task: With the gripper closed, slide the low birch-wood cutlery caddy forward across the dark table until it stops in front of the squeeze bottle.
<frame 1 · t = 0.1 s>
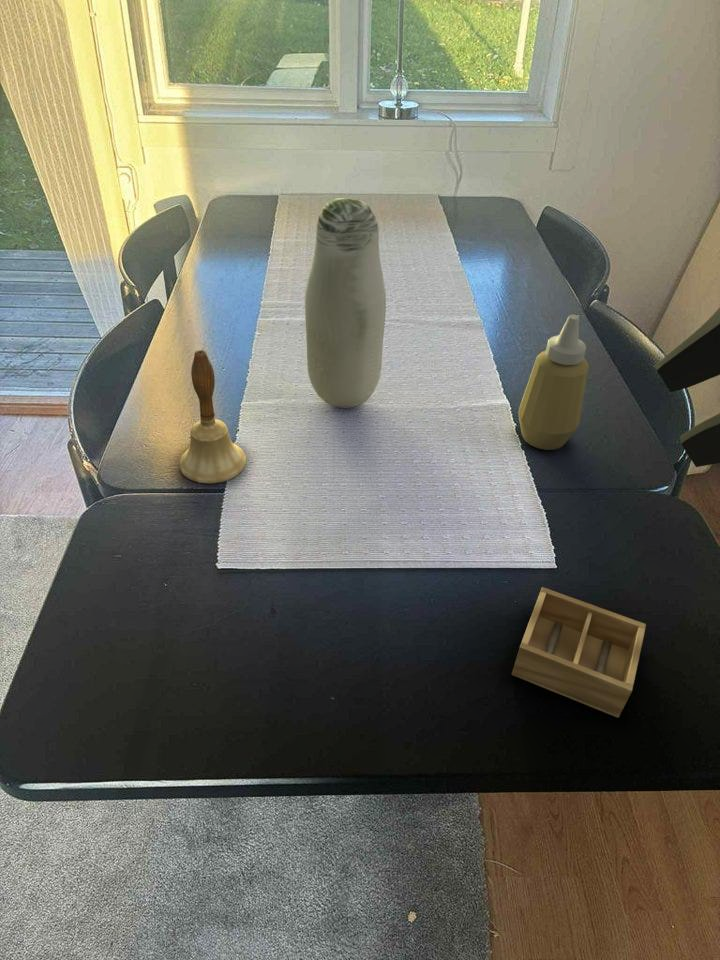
hand: (674, 413, 42), 33 cm above the table, tool tilted 50°, fingers open, 7 cm apart
hand bell: (213, 464, 89), on the table
cutlery caddy: (573, 663, 67), on the table
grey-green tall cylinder: (343, 400, 100), on the table
squeeze bottle: (543, 438, 95), on the table
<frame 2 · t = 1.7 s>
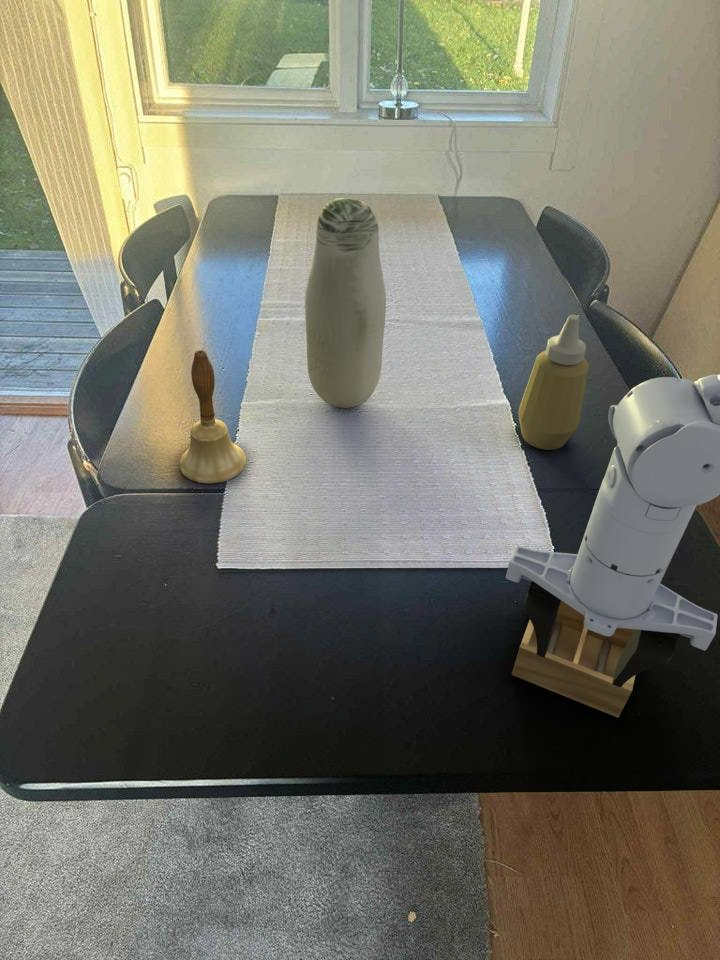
hand: (580, 661, 56), 9 cm above the table, tool pointing down, fingers open, 5 cm apart
nothing on the table moved.
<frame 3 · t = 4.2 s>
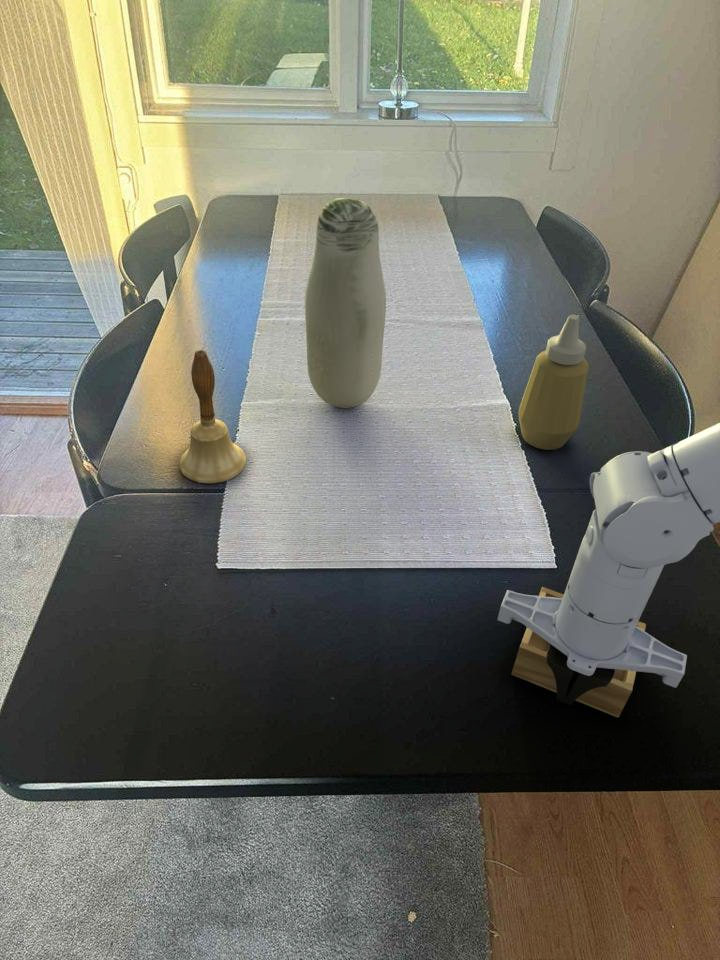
hand: (565, 693, 62), 3 cm above the table, tool pointing down, fingers closed, pressing on cutlery caddy
cutlery caddy: (573, 662, 67), on the table, touching gripper
everything else where it was.
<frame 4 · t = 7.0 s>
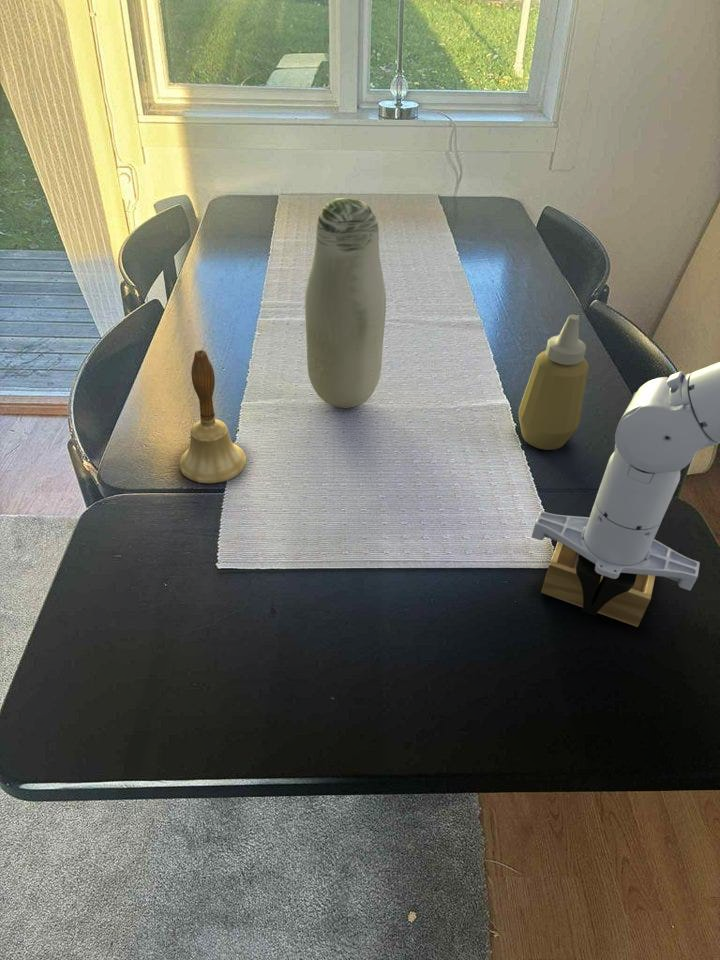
hand: (590, 606, 70), 2 cm above the table, tool pointing down, fingers closed, pressing on cutlery caddy
cutlery caddy: (595, 583, 75), on the table, touching gripper
everything else where it was.
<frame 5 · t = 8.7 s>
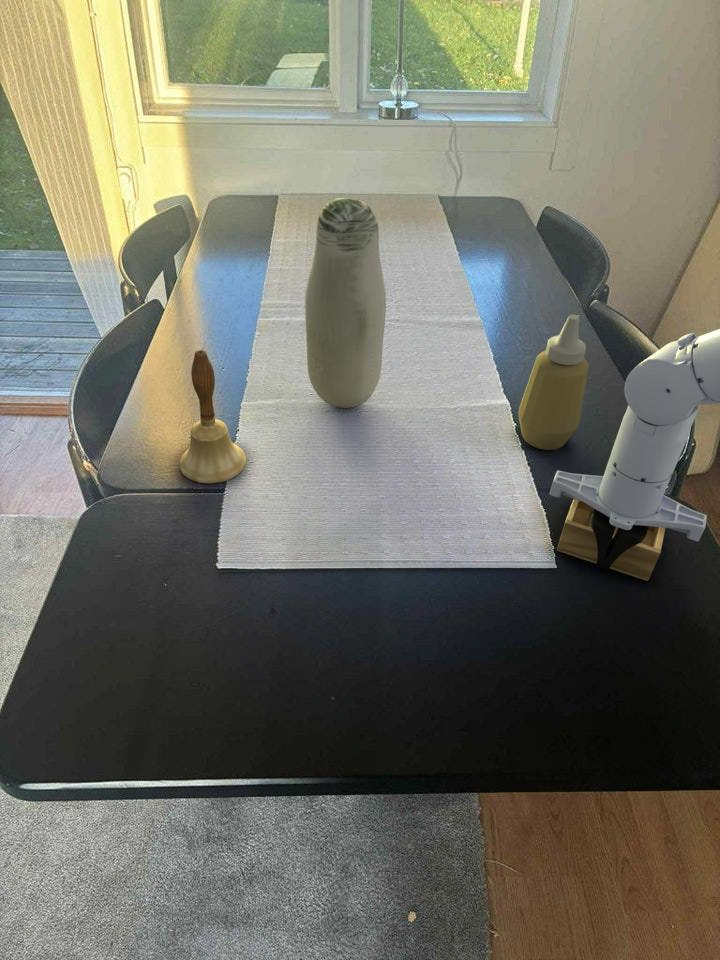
hand: (604, 561, 75), 2 cm above the table, tool pointing down, fingers closed, pressing on cutlery caddy
cutlery caddy: (607, 542, 80), on the table, touching gripper
everything else where it was.
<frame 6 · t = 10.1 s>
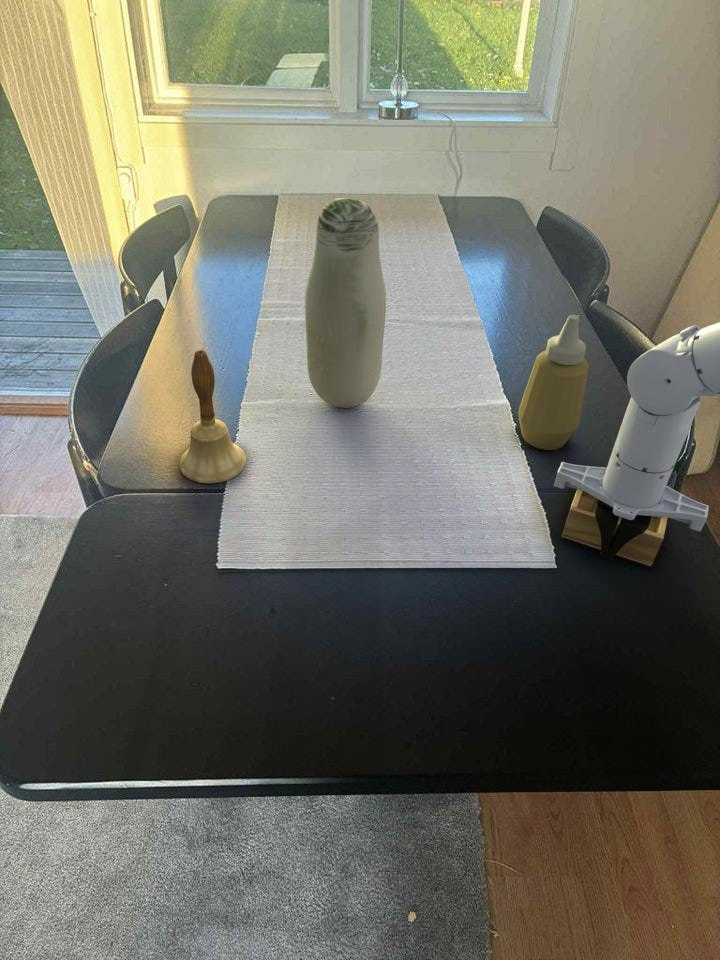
hand: (607, 551, 76), 2 cm above the table, tool pointing down, fingers closed
cutlery caddy: (611, 529, 82), on the table
everything else where it was.
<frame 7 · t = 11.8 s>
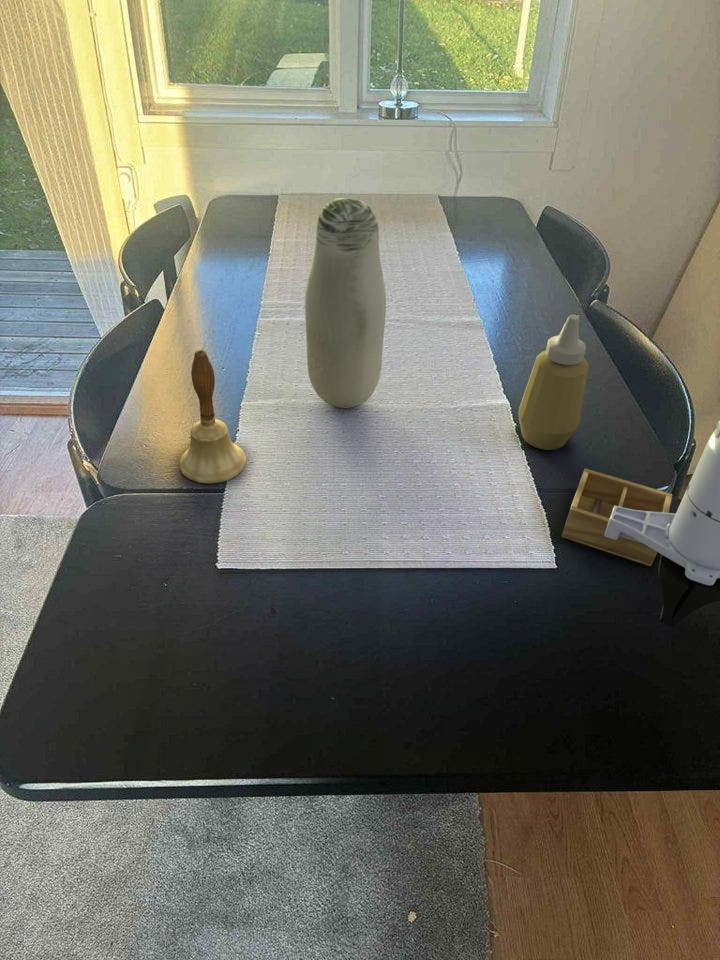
hand: (669, 616, 60), 9 cm above the table, tool pointing down, fingers closed
nothing on the table moved.
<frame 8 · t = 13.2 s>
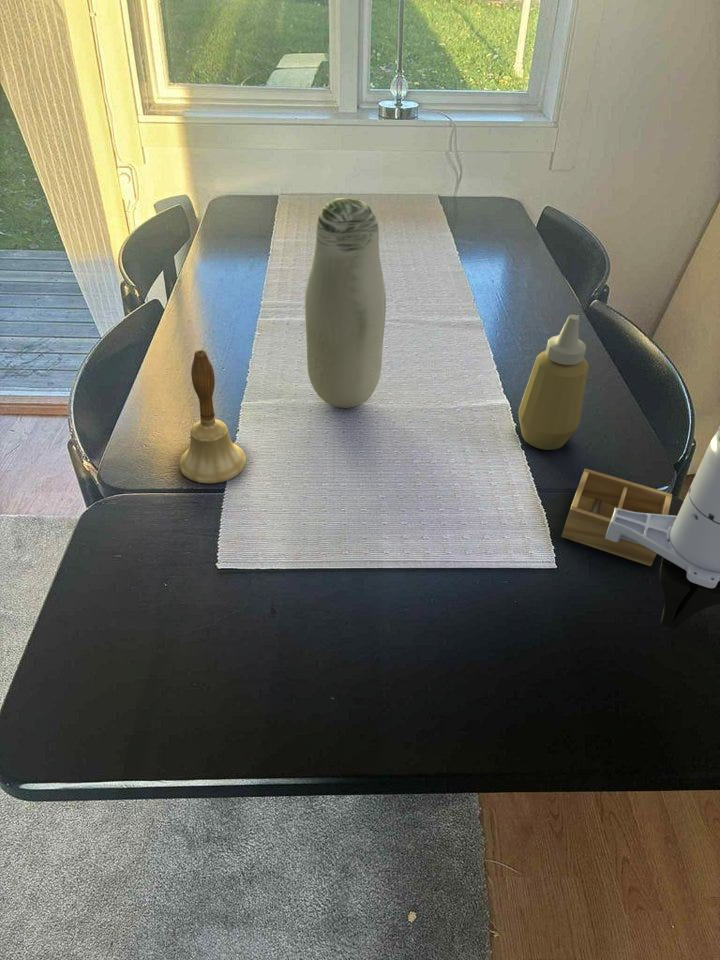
hand: (670, 618, 60), 9 cm above the table, tool pointing down, fingers closed
nothing on the table moved.
at the end: cutlery caddy inside the target area on the table beside the squeeze bottle (1.1 cm from its centre), on the table; cutlery caddy moved 20.5 cm from its start; cutlery caddy tilted 0° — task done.
